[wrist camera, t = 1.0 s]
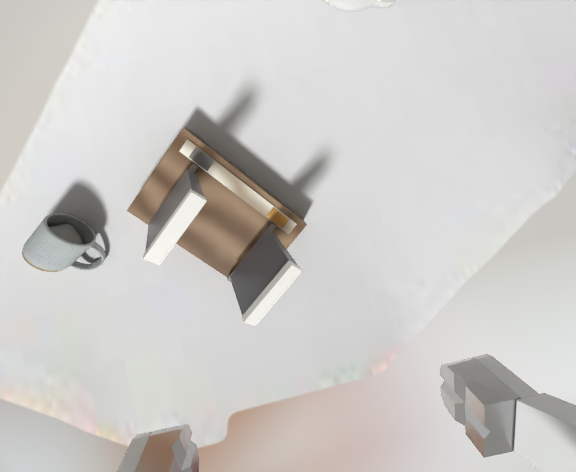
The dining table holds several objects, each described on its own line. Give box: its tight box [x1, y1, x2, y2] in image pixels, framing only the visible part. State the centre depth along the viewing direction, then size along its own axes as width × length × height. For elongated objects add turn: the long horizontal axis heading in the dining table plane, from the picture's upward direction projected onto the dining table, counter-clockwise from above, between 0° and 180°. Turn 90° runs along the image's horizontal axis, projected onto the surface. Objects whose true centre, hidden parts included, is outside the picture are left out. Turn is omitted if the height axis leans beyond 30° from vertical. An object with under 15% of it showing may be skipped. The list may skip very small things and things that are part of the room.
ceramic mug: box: [22, 213, 106, 272], centre depth 46 cm, size 11×8×8 cm
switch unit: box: [127, 128, 307, 282], centre depth 48 cm, size 17×26×6 cm, turn 51°
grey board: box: [230, 229, 302, 326], centre depth 42 cm, size 11×2×11 cm, turn 141°
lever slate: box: [143, 169, 207, 266], centre depth 39 cm, size 11×2×11 cm, turn 141°
